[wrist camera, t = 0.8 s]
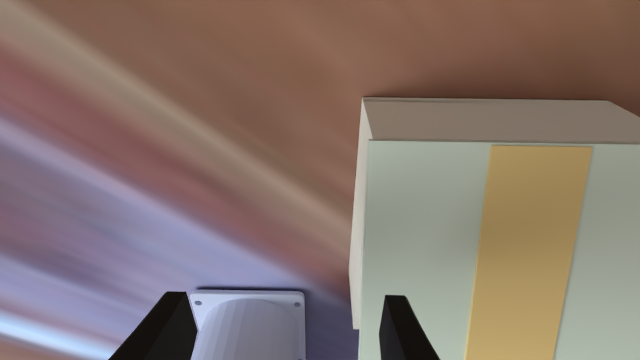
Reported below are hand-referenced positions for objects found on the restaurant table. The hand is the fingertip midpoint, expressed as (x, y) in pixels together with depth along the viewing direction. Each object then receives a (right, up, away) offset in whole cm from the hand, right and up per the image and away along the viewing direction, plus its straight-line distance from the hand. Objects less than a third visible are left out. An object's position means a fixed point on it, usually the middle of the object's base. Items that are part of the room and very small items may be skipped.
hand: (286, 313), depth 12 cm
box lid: (+9, 0, +3) cm, 10 cm away
